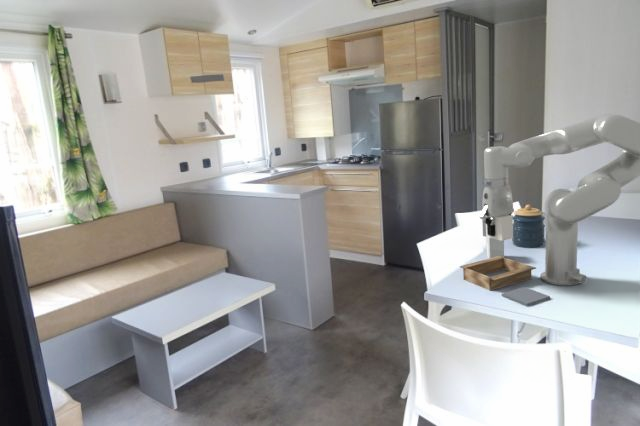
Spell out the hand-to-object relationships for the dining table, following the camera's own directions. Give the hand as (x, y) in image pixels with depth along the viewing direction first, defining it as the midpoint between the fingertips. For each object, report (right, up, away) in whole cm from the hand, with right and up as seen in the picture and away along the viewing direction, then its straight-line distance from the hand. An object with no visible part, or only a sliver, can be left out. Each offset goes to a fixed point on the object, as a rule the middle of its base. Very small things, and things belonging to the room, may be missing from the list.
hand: (497, 233), depth 158 cm
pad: (+4, -20, -14) cm, 24 cm away
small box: (+9, -12, +25) cm, 29 cm away
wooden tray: (+1, -16, +4) cm, 17 cm away
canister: (+29, -7, +40) cm, 50 cm away
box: (0, -1, 0) cm, 1 cm away
